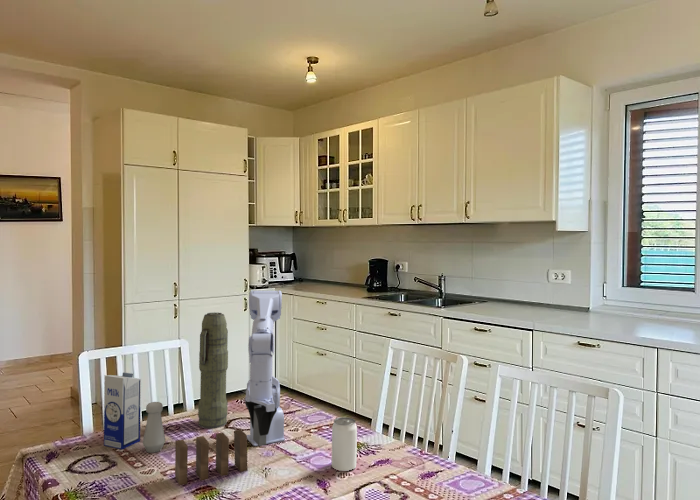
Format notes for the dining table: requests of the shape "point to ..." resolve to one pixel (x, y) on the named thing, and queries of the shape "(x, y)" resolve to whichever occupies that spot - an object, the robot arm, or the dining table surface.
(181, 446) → the domino
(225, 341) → the thermos
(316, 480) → the dining table surface
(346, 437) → the can
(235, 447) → the domino
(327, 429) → the dining table surface
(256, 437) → the domino
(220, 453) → the domino
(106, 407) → the milk carton
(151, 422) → the salt shaker
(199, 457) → the domino
